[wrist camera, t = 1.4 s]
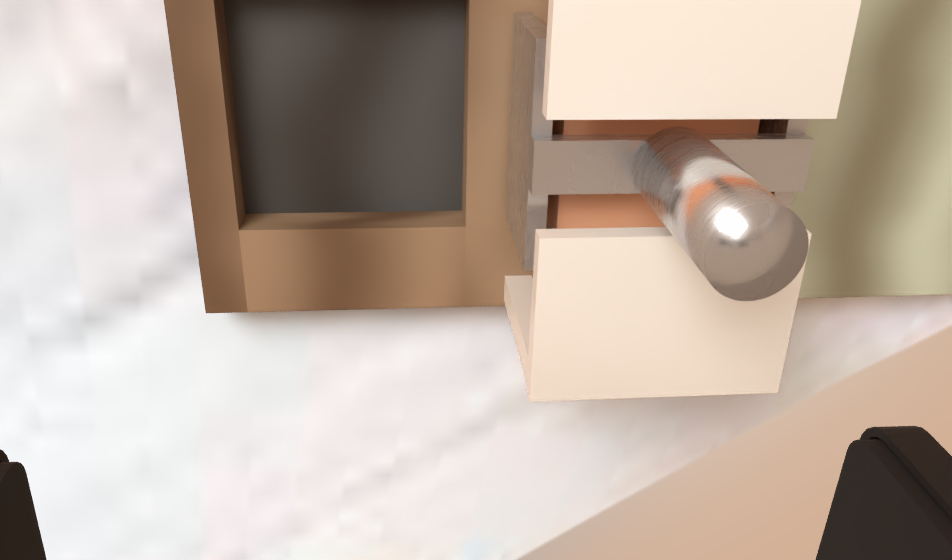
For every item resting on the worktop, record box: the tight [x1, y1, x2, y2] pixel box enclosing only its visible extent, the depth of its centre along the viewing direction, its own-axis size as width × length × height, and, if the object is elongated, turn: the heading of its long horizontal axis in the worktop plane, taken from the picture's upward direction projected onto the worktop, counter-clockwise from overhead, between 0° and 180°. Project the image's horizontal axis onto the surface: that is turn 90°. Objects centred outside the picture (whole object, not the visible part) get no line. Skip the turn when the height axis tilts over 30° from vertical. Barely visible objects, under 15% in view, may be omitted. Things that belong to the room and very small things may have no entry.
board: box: [164, 0, 952, 313], centre depth 30 cm, size 30×14×2 cm, turn 90°
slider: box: [506, 13, 815, 301], centre depth 24 cm, size 8×7×11 cm
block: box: [547, 119, 760, 229], centre depth 27 cm, size 6×6×4 cm
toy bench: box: [504, 0, 861, 402], centre depth 26 cm, size 8×14×6 cm, turn 0°
